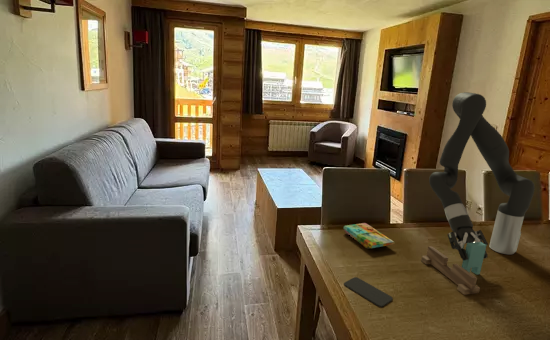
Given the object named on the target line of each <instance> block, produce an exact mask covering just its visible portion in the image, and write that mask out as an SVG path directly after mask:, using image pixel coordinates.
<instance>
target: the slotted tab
mask: <svg viewBox="0 0 550 340" xmlns="http://www.w3.org/2000/svg"><path fill="white" fill-rule="evenodd" d="M482 242H483V241H482ZM482 242H475V243H466V246H465V251H466V253H467V256H468V259H467V260H463V259H462V264H461V267H462V268H464V269H465V270H467V271H468V272H469V273H471V272H472V273H473V274H475V275H480V274H481V270H482V266H483V261H484V259H483V258H484V254H485V250H486V251H487V249H486V248H487V246H488V245H486V244H484V242H483V243H482Z"/></svg>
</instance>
